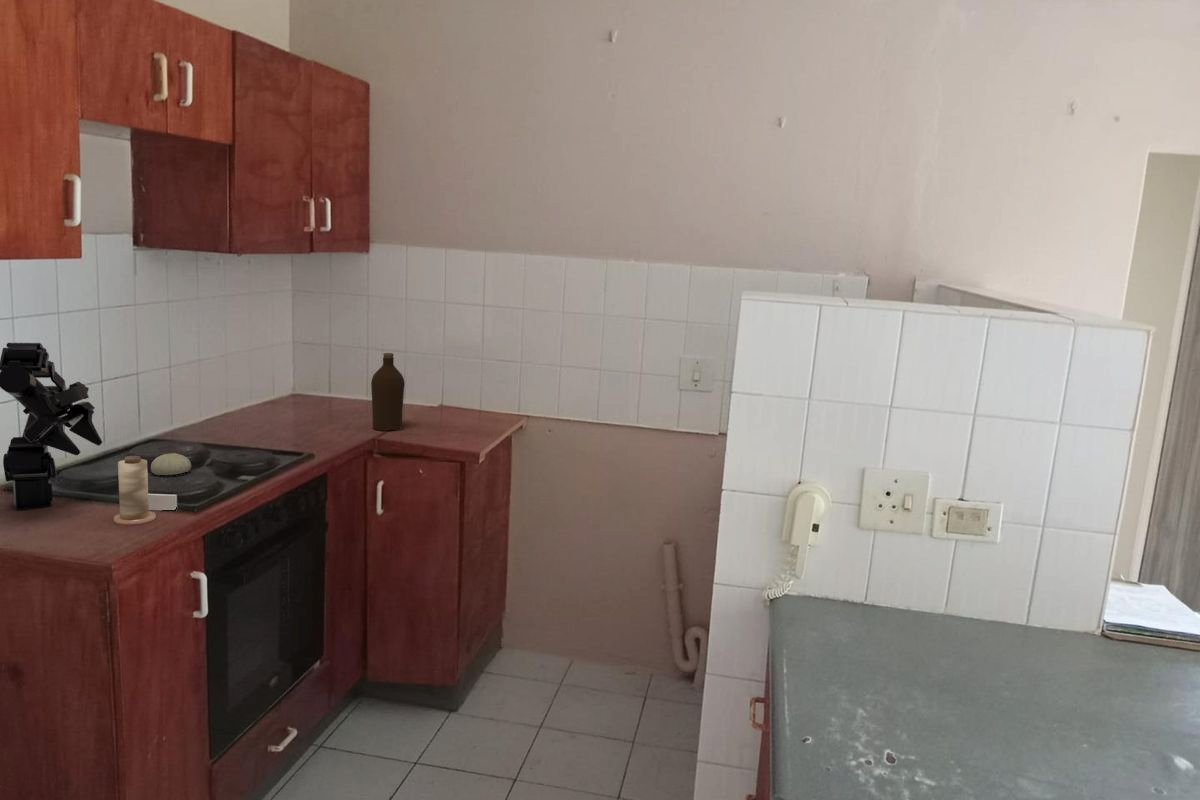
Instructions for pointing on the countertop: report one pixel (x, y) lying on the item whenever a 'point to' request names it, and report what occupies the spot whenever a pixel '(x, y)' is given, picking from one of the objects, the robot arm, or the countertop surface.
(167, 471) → the sea urchin shell
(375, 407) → the olive oil
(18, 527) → the countertop surface
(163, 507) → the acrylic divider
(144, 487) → the thread spool
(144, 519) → the coaster
